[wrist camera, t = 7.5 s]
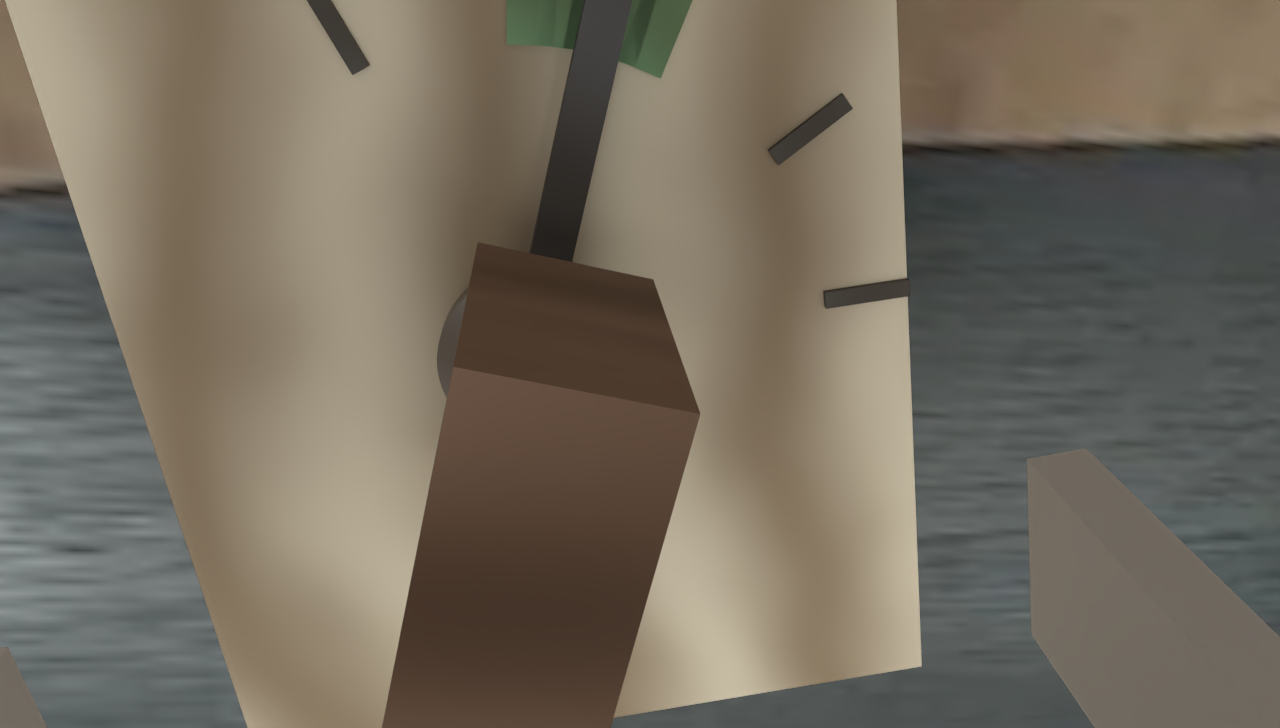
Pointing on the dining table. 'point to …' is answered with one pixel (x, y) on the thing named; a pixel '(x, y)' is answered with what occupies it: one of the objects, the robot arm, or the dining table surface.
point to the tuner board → (440, 273)
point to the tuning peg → (545, 461)
